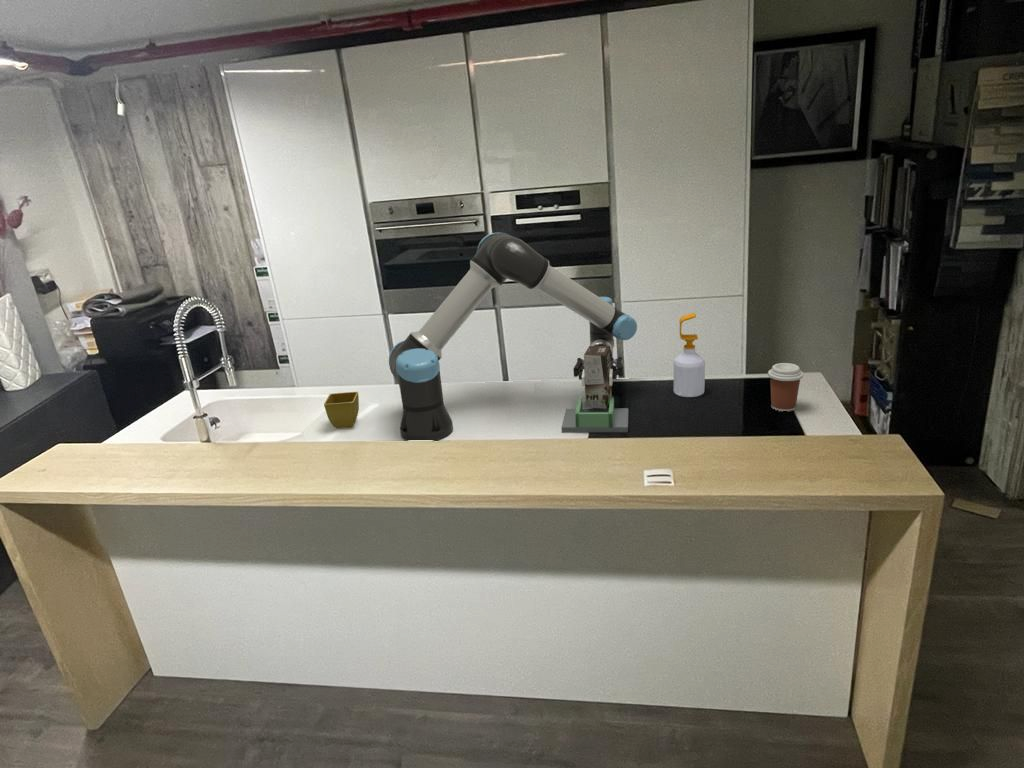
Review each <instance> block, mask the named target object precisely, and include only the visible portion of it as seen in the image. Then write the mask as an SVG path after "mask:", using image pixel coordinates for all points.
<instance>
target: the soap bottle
mask: <svg viewBox="0 0 1024 768" xmlns="http://www.w3.org/2000/svg"><path fill="white" fill-rule="evenodd" d="M696 317H697V315H696V312H691V313H688V314H684V315H682V316H681V317H680V318H679V338H680V339H681V340H683V341H684V342H686V344H684V345H683V352H682V353H681V354H679V355H678V356H676V357H675V358H674V360H673V393H674V394H675V395H677V396H679V397H683V398H696V397H700V396H702V395H704V393H705V387H706V386H705V379H706V377H705V376H706V375H705V374H706V362H705V361H706V360H705V359H704V358H703V356H702V355H700V354H698V353H696V345H695V344H693V342H695V340H698V339H699V338H698V337H699V336H698V334H694V333H693V334H683V333H682V324H683V323H684V322H685V321H689V320H692V319H695V318H696Z"/></svg>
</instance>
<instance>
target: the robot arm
mask: <svg viewBox="0 0 1024 768" xmlns="http://www.w3.org/2000/svg"><path fill="white" fill-rule="evenodd" d="M469 265H470V268H469V270H468V271H467V273H466V274H465V275H464V276H463V277H462V279H460V281H459V282H458V283H457V284H456V286H454V288H453V290H451V292H450V293H448V296H446V298H445V299H444V300H443V302H442V303H441V304H440V305H439V307H438V308H437V309H436V310H435V311H434V312H433V313H432V315H431V316H430V317H429V318H428V320H426V322H425V324H424V325H423V326H422V327H421V328H420V329H419V330H418V331H411V332H410V333H409V335H408V336H407V337H406V338H405V339H404V340H402V341H399V342H398V343H396V344H395V345H394V346H393V347H392V348H391V351H390V352H389V355H388V356H389V357H388V367H389V370H390V373H391V374H392V376H393V377H394V379H395V380H396V382H397V383H398V386H399V391H400V398H401V399H400V400H401V403H402V405H401V406H402V414H401V420H400V425H399V434H400V437H401V438H402V439H403V440H404V441H406V440H436V441H439V440H441V439H444V438H446V437H448V436H450V435H451V433H453V430H454V424H453V419H452V418H451V416H450V414H449V411H448V410H447V408H446V405H445V403H444V402H445V401H444V394H443V388H442V387H443V386H442V379H441V372H440V371H441V370H440V369H441V365H440V360H441V359H442V357H443V356H442V350H443V349H444V347H445V346H446V345H447V344H448V342H450V340H451V338H453V336H454V335H455V334H456V333H457V332H458V330H459V329H460V328H461V327H462V325H463V324H464V323H465V322H466V321H467V319H468V318H469V317H470V315H472V314H473V312H474V311H475V310H476V309H477V307H478V306H479V305H480V304H481V302H482V301H483V300H484V299H485V298H486V296H487V295H488V294H489V292H490V291H492V289H494V288H499V287H502V285H503V284H504V283H505V281H506V280H507V279H508V280H510V281H513V282H516V283H518V284H520V285H523V286H524V287H526V288H527V289H529V290H537V291H539V292H541V293H543V294H544V295H546V296H548V297H549V298H551V299H552V300H554V301H555V302H557V303H558V304H561V305H562V306H564V307H566V308H567V309H568V310H571V312H572V311H573V313H576V314H577V315H579V316H580V317H582V318H583V319H585V320H587V321H588V323H589V346H610V358H611V369H610V374H609V386H611V387H612V386H613V380H617V377H618V376H620V377H623V376H624V366H623V357H622V356H619V357H617V358H615V359H614V347H615V339H614V338H616V339H617V340H621V341H628V340H630V339H632V338H633V337H634V336H635V335H636V333H637V330H638V325H637V324H638V323H637V321H636V319H635V318H634V317H632V316H631V315H629V314H626V313H625V312H623V311H621V310H620V309H618V308H617V307H615V306H614V305H613V300H612V298H611V297H608V296H597V295H596V293H593V292H592V291H590V290H589V289H587V288H585V287H584V285H583V286H582V285H581V284H580V283H578V282H577V281H574V280H573V279H571V277H568V276H567V275H565V274H564V273H562V272H561V271H559V270H557V269H556V268H554V267H553V266H552V265H550V260H548V259H547V258H546V257H544V256H543V255H541V254H540V253H539V252H537V251H536V250H535V249H533V248H532V247H531V246H530V245H529V244H528V243H526V242H525V241H524V240H522V239H520V238H518V237H515V236H512V235H510V234H509V233H505V232H493V233H489V234H487V235H486V236H484V237H483V238H482V239H481V240H480V242H479V243H478V246H477V249H476V253H475V255H474V256H473V257H472V258H471V259H470V261H469ZM576 360H577V361H576V363H575V365H574V367H573V369H572V370H573V377H575V378H577V377H578V380H580V381H581V386H582V387H585V374H584V358H582V357H577V358H576Z"/></svg>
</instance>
